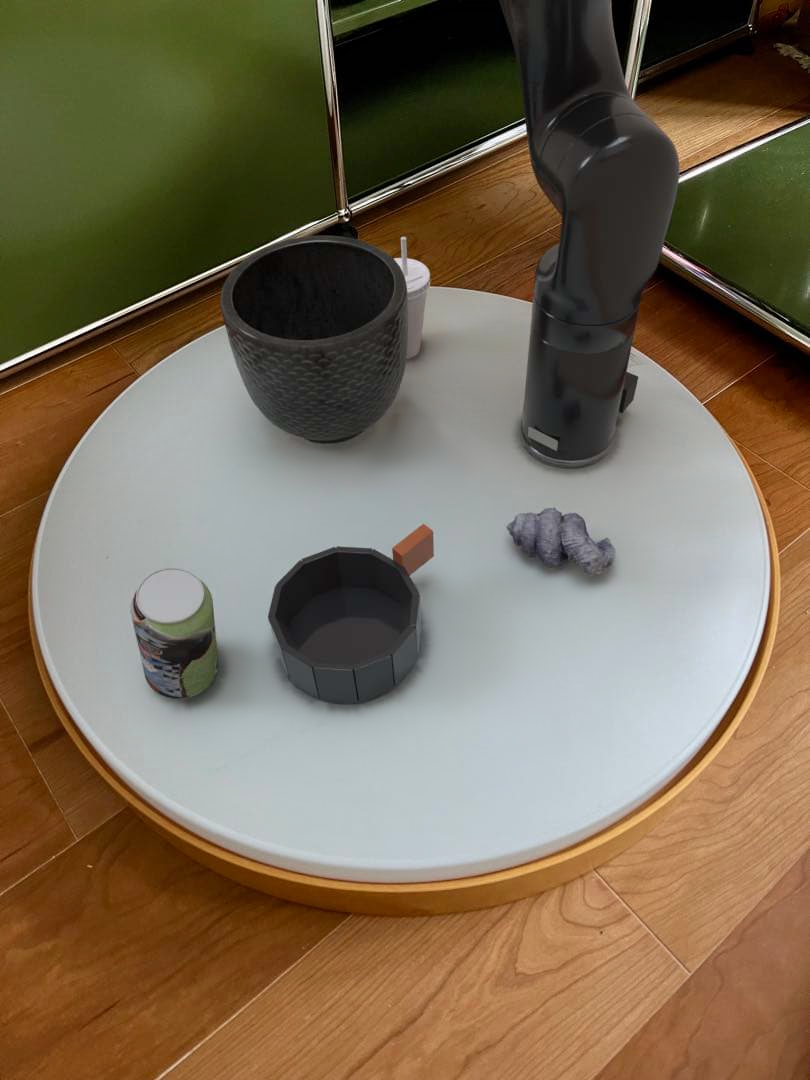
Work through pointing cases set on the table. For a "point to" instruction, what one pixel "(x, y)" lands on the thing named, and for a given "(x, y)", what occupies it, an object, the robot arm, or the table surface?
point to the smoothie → (414, 297)
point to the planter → (319, 334)
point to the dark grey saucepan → (351, 619)
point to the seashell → (560, 540)
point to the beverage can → (175, 632)
